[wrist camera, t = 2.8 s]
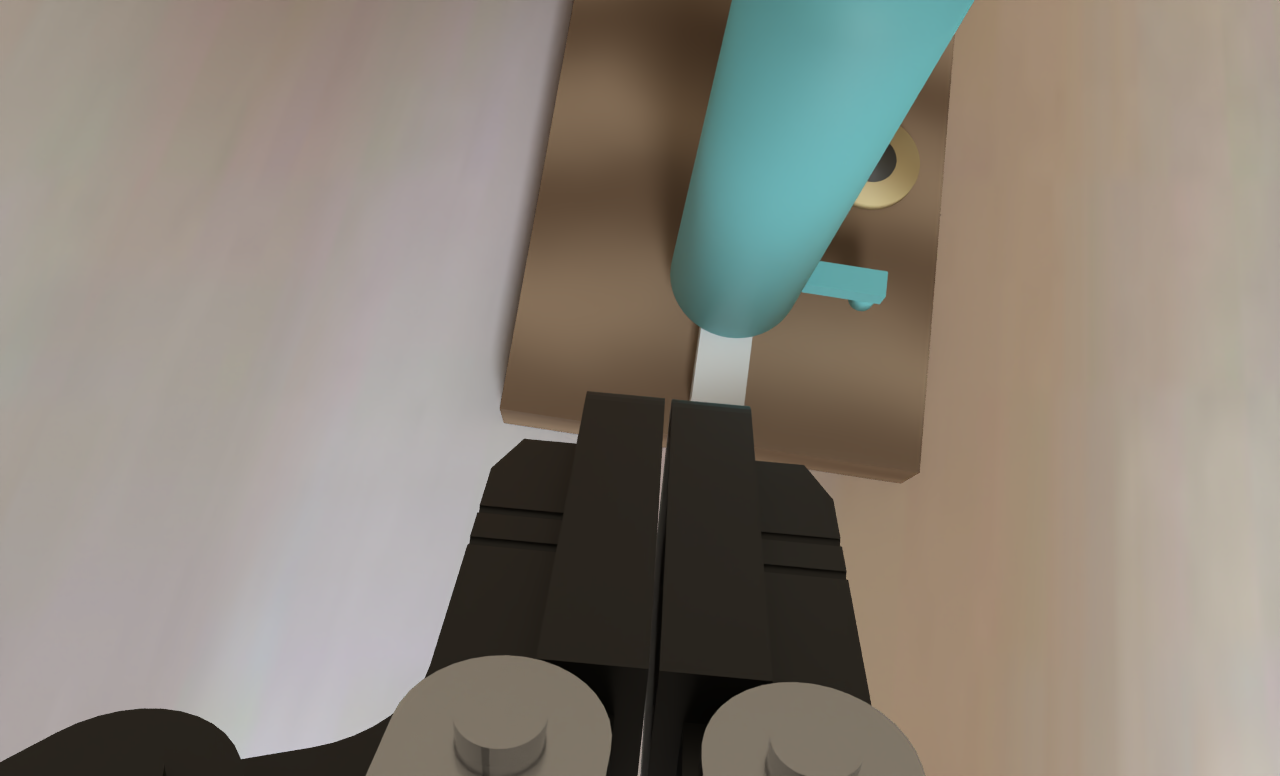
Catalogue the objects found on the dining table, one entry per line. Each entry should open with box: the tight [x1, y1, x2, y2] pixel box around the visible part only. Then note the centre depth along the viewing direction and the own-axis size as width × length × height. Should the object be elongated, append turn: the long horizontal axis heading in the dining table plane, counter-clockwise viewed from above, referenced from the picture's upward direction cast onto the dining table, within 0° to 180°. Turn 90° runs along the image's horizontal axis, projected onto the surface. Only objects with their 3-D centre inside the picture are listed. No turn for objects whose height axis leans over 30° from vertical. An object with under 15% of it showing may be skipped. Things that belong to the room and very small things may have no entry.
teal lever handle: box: [670, 0, 974, 338], centre depth 26 cm, size 4×6×16 cm, turn 82°
